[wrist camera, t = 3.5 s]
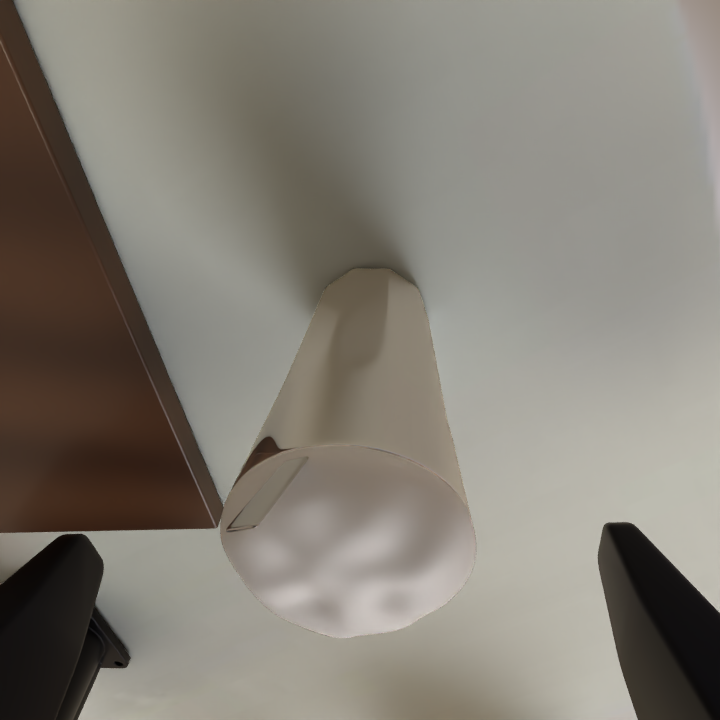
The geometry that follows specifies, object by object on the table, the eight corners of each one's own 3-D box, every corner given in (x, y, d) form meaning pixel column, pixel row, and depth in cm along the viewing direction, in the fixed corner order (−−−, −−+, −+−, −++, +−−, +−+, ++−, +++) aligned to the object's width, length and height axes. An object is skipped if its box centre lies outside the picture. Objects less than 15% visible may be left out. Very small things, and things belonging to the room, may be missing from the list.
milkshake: (417, 194, 14) (424, 496, 6) (465, 356, 17) (514, 711, 9) (260, 244, 15) (88, 554, 7) (329, 388, 18) (262, 728, 10)
